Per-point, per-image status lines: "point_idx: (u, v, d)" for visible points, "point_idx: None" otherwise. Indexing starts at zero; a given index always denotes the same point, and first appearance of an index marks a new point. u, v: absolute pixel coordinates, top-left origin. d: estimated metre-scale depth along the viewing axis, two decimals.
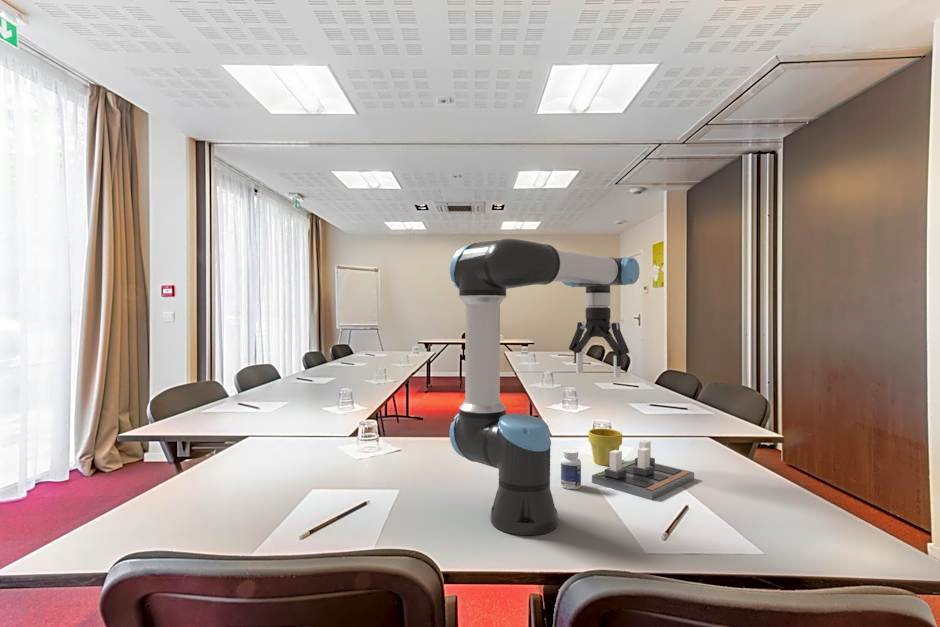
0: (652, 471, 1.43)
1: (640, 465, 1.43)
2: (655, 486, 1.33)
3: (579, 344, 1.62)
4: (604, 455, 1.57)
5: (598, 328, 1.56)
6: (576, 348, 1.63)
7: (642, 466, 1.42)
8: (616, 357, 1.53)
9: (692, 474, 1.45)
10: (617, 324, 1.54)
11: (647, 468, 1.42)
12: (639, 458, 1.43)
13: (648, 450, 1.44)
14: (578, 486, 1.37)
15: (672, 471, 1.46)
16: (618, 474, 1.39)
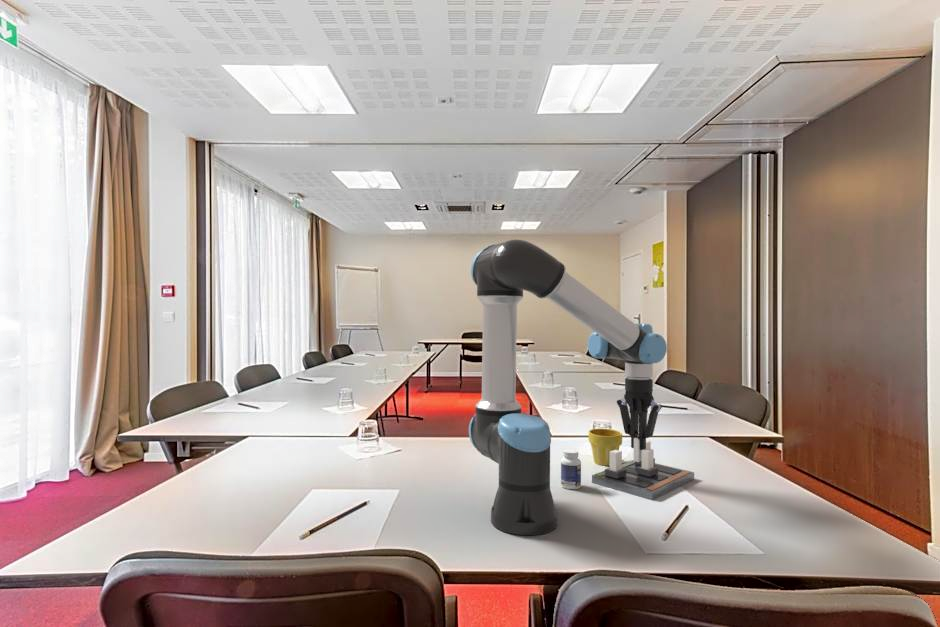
0: (656, 472, 1.42)
1: (644, 466, 1.42)
2: (655, 486, 1.33)
3: (632, 426, 1.45)
4: (604, 455, 1.57)
5: (639, 402, 1.43)
6: (632, 431, 1.45)
7: (646, 467, 1.42)
8: (639, 440, 1.44)
9: (692, 474, 1.45)
10: (659, 408, 1.41)
11: (651, 469, 1.41)
12: (643, 459, 1.42)
13: (652, 451, 1.43)
14: (578, 486, 1.37)
15: (672, 471, 1.46)
16: (618, 474, 1.39)
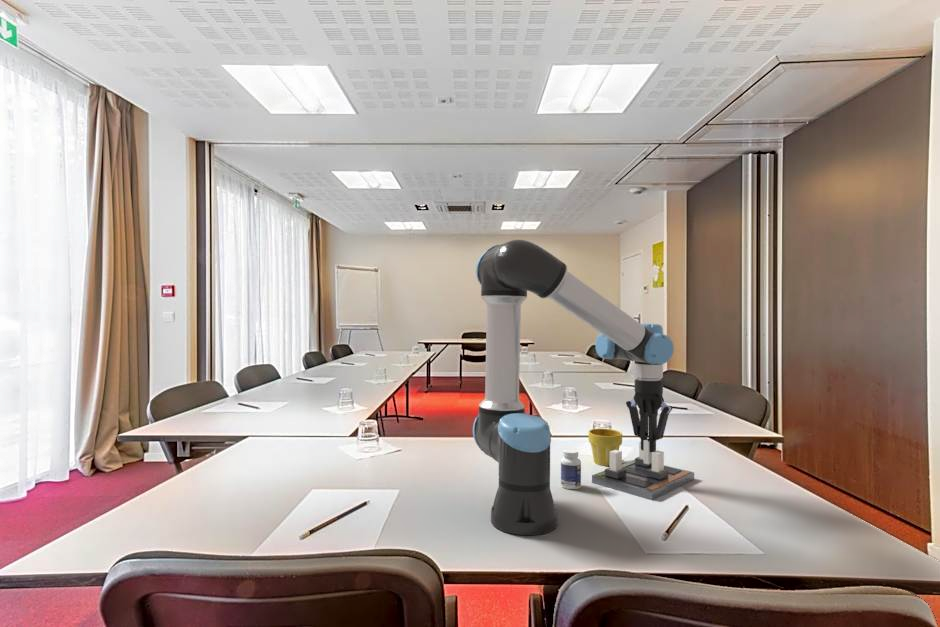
0: (666, 475, 1.40)
1: (654, 468, 1.40)
2: (655, 486, 1.33)
3: (642, 427, 1.43)
4: (604, 455, 1.57)
5: (649, 404, 1.40)
6: (641, 433, 1.43)
7: (656, 469, 1.39)
8: (649, 442, 1.42)
9: (692, 474, 1.45)
10: (670, 409, 1.38)
11: (661, 472, 1.39)
12: (653, 461, 1.40)
13: (662, 453, 1.41)
14: (578, 486, 1.37)
15: (672, 471, 1.46)
16: (618, 474, 1.39)
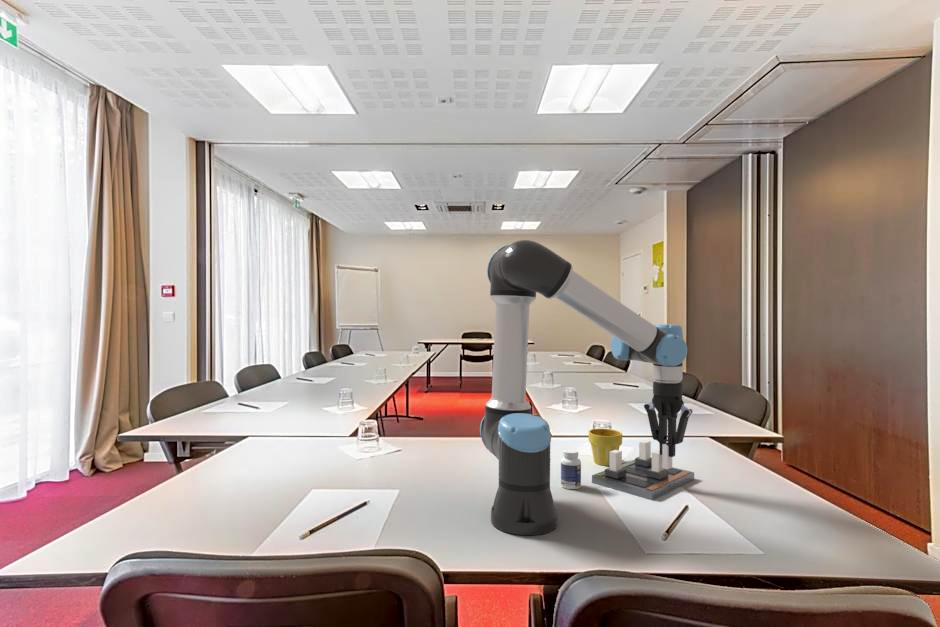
0: (666, 475, 1.40)
1: (654, 468, 1.40)
2: (655, 486, 1.33)
3: (661, 431, 1.39)
4: (604, 455, 1.57)
5: (668, 407, 1.36)
6: (660, 437, 1.39)
7: (656, 469, 1.39)
8: (668, 446, 1.37)
9: (692, 474, 1.45)
10: (690, 413, 1.34)
11: (661, 472, 1.39)
12: (653, 461, 1.40)
13: None
14: (578, 486, 1.37)
15: (672, 471, 1.46)
16: (618, 474, 1.39)
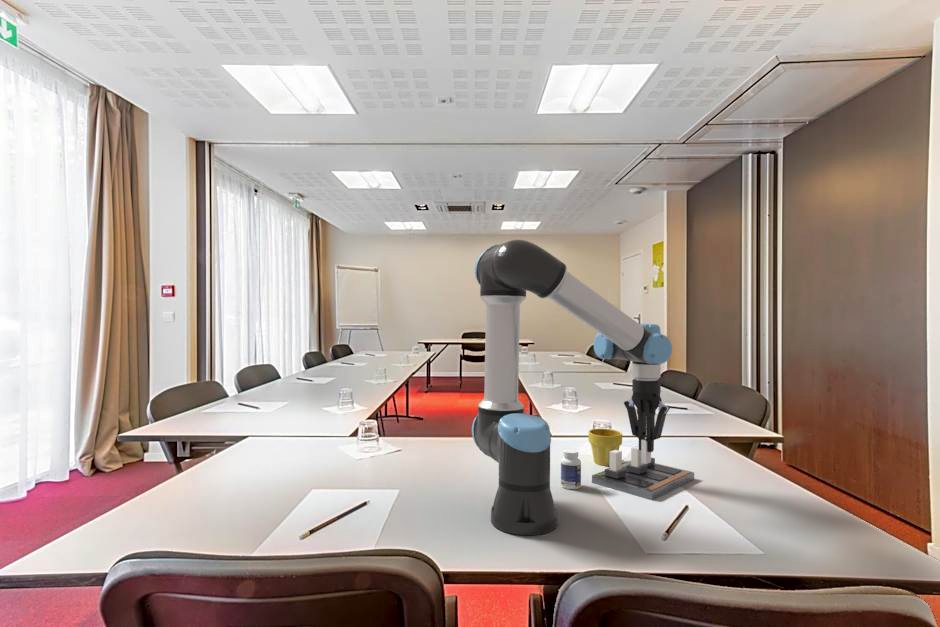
0: (645, 469, 1.45)
1: (633, 463, 1.44)
2: (655, 486, 1.33)
3: (640, 427, 1.43)
4: (604, 455, 1.57)
5: (647, 404, 1.41)
6: (639, 433, 1.43)
7: (636, 464, 1.44)
8: (646, 442, 1.42)
9: (692, 474, 1.45)
10: (667, 409, 1.39)
11: (640, 466, 1.44)
12: (632, 456, 1.45)
13: None
14: (578, 486, 1.37)
15: (672, 471, 1.46)
16: (618, 474, 1.39)
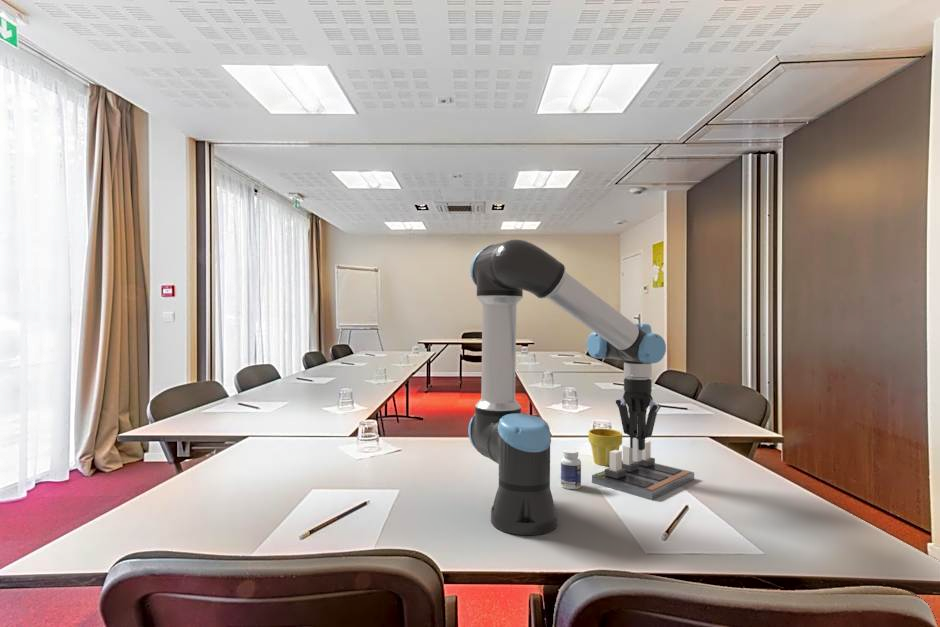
0: (637, 467, 1.47)
1: (625, 461, 1.46)
2: (655, 486, 1.33)
3: (631, 425, 1.45)
4: (604, 455, 1.57)
5: (638, 402, 1.43)
6: (630, 431, 1.45)
7: (627, 462, 1.46)
8: (638, 440, 1.44)
9: (692, 474, 1.45)
10: (658, 408, 1.41)
11: (632, 464, 1.46)
12: (624, 454, 1.47)
13: None
14: (578, 486, 1.37)
15: (672, 471, 1.46)
16: (618, 474, 1.39)
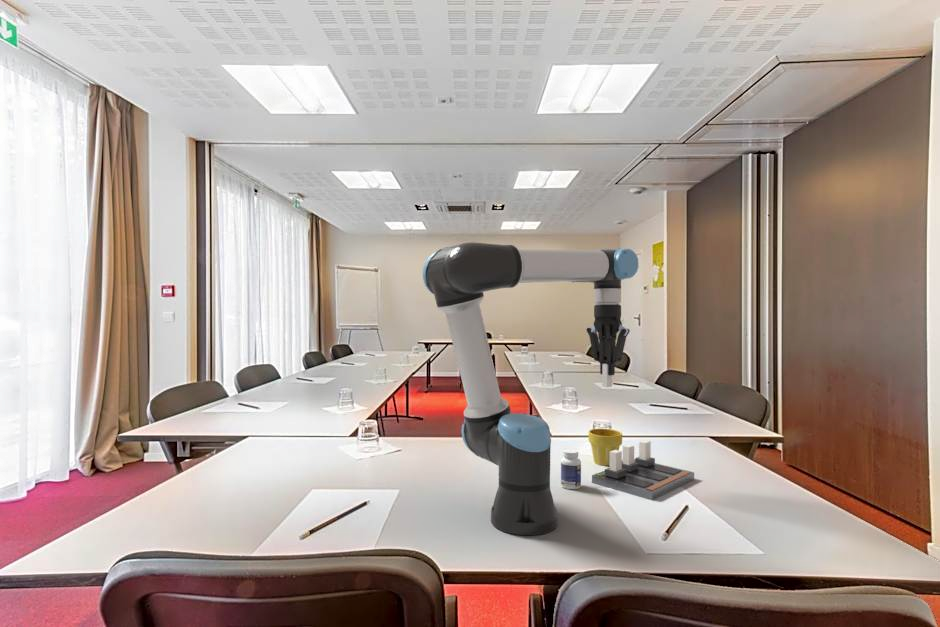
0: (636, 467, 1.47)
1: (625, 461, 1.46)
2: (655, 486, 1.33)
3: (601, 352, 1.46)
4: (604, 455, 1.57)
5: (607, 327, 1.43)
6: (600, 358, 1.46)
7: (627, 462, 1.46)
8: (607, 365, 1.44)
9: (692, 474, 1.45)
10: (627, 332, 1.41)
11: (631, 464, 1.46)
12: (624, 454, 1.47)
13: (633, 447, 1.47)
14: (578, 486, 1.37)
15: (672, 471, 1.46)
16: (618, 474, 1.39)
